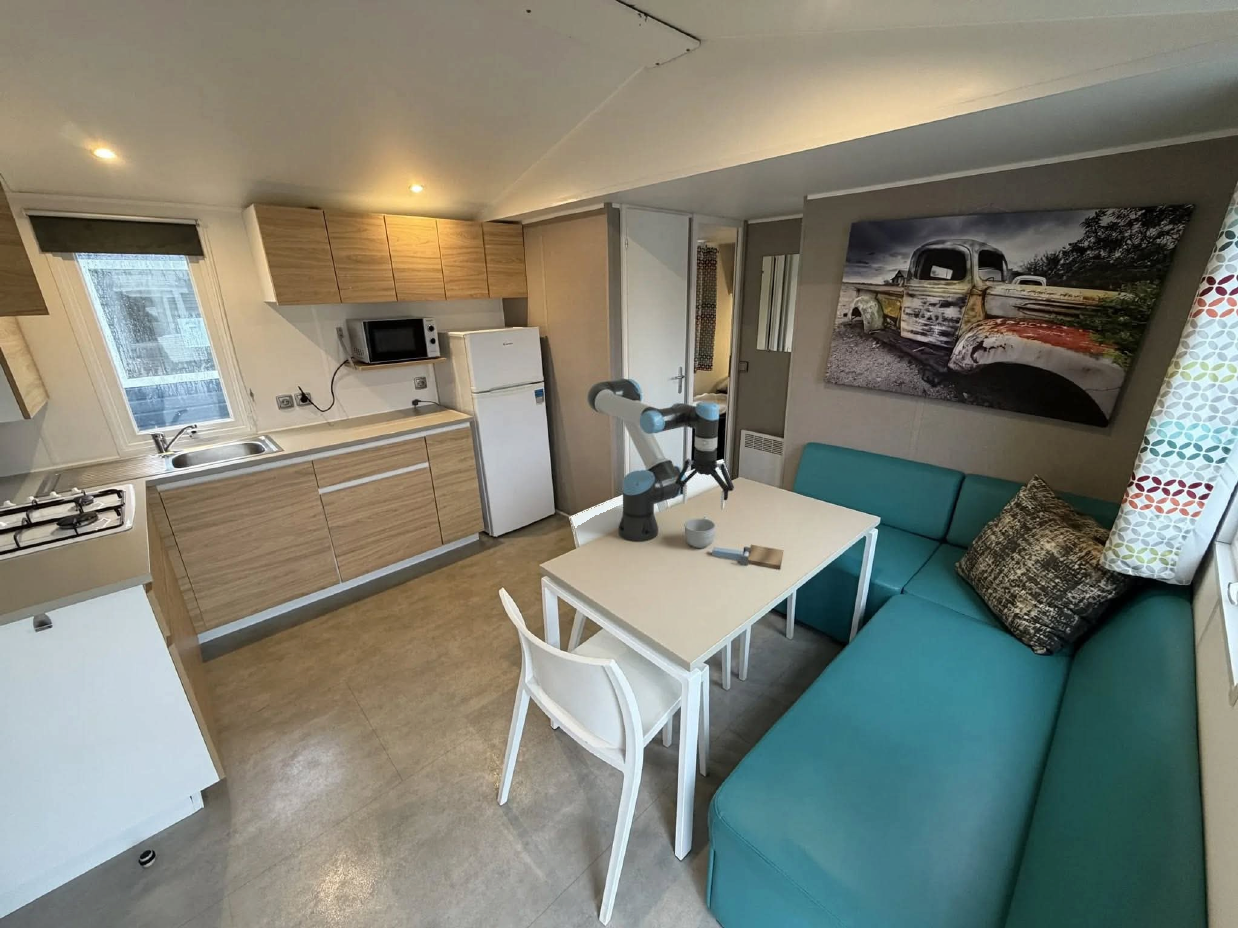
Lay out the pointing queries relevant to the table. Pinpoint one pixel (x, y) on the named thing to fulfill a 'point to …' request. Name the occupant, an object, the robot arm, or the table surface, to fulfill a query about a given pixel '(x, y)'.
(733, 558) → the leg
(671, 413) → the robot arm
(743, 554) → the hinge cheek
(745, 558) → the hinge cheek
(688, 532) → the teacup
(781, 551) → the board
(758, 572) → the table surface
